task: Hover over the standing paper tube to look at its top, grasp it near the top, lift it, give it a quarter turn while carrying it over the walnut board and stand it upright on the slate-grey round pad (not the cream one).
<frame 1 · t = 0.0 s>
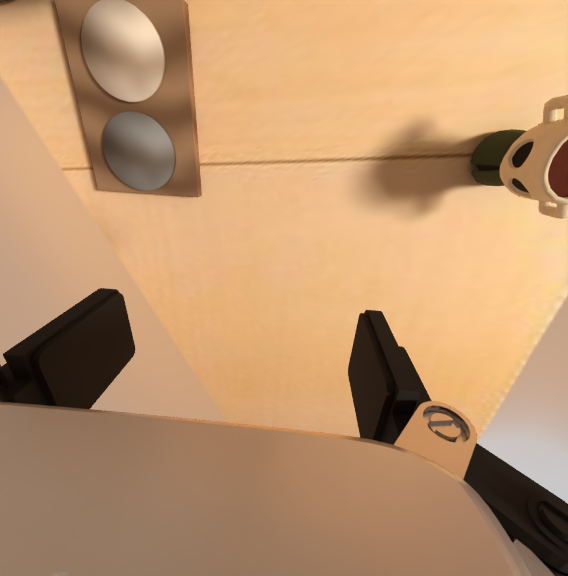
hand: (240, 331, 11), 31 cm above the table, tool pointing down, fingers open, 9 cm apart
character mug: (494, 158, 35), on the table
board: (140, 109, 35), on the table
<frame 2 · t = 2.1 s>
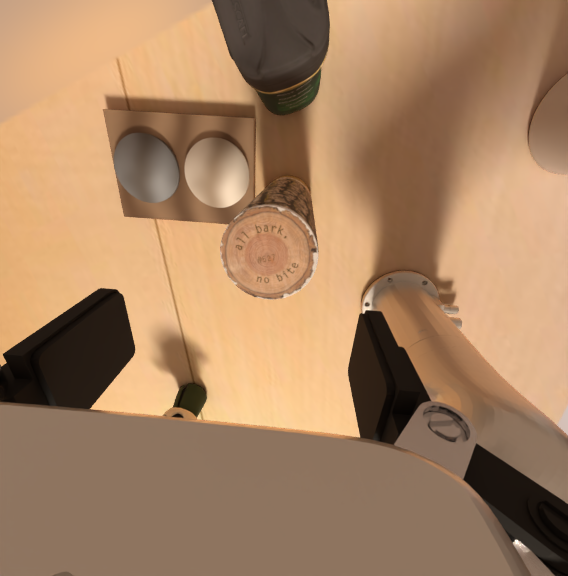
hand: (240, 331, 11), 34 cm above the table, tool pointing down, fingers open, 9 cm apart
character mug: (194, 391, 61), on the table
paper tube: (288, 199, 42), on the table
board: (187, 170, 41), on the table
coffee jar: (285, 69, 35), on the table
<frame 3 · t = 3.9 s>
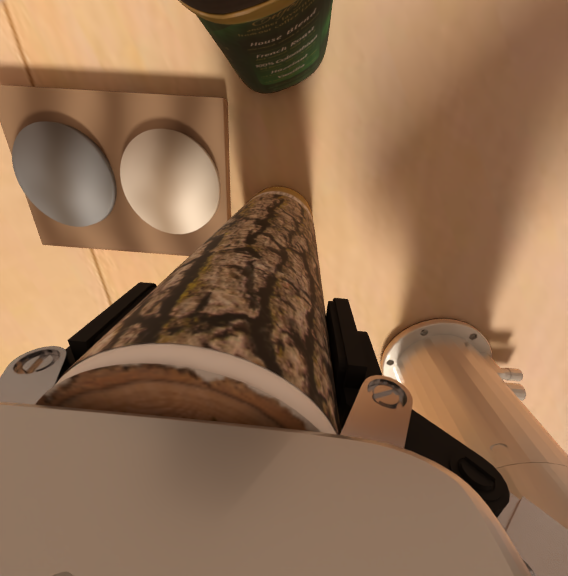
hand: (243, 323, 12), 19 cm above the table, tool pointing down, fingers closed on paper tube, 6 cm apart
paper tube: (279, 220, 28), on the table, touching gripper
board: (129, 179, 27), on the table
coffee jar: (272, 18, 22), on the table
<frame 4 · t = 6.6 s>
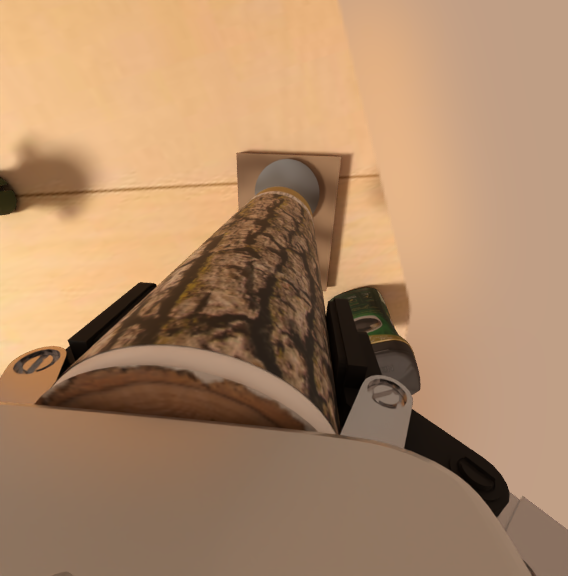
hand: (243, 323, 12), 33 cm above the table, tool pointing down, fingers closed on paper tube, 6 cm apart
character mug: (0, 193, 44), on the table
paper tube: (279, 220, 28), point 14 cm above the table, touching gripper
board: (286, 226, 43), on the table
coffee jar: (355, 307, 49), on the table
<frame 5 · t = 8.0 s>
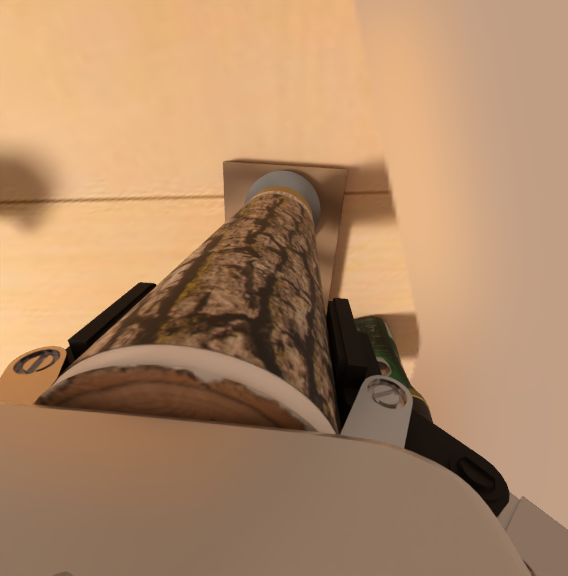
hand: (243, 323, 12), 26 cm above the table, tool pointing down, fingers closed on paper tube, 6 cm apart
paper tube: (279, 220, 28), point 7 cm above the table, touching gripper
board: (281, 247, 37), on the table
coffee jar: (358, 337, 43), on the table
when the fingers open (22 cm above the table, at t = 9.2 s): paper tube drops 1 cm, resting on board.
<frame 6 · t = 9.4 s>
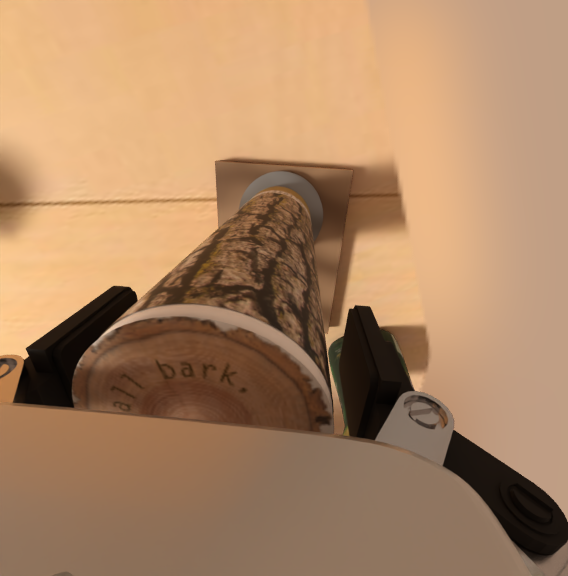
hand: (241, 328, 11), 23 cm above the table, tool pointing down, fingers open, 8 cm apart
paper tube: (278, 218, 30), point 2 cm above the table, touching board
board: (279, 254, 34), on the table
coffee jar: (362, 350, 40), on the table
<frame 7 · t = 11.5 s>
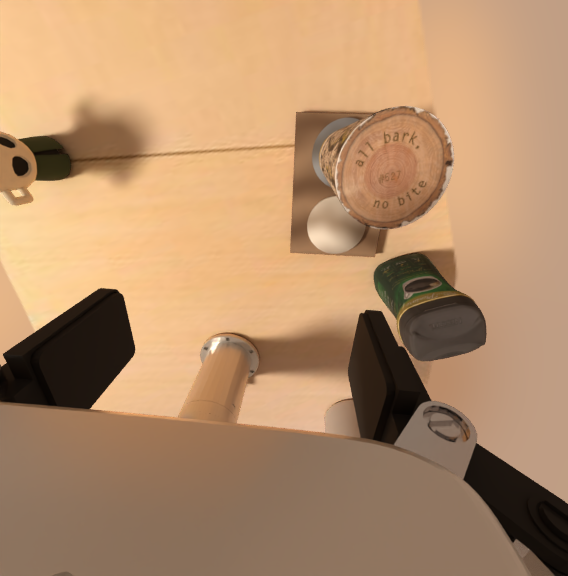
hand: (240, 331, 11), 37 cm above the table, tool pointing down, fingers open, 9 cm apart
character mug: (54, 158, 44), on the table
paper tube: (342, 156, 39), point 2 cm above the table, touching board
cylinder vase: (350, 415, 66), on the table
board: (338, 190, 43), on the table
coffee jar: (401, 274, 49), on the table
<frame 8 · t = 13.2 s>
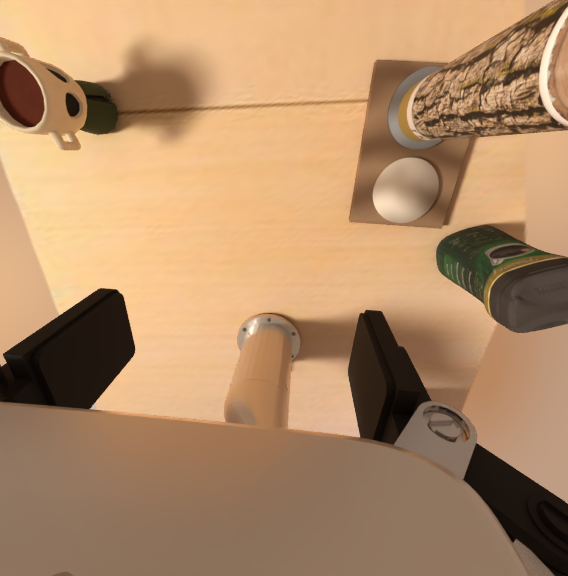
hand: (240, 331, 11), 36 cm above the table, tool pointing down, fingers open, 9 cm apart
character mug: (98, 110, 40), on the table
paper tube: (422, 111, 36), point 2 cm above the table, touching board
board: (409, 153, 40), on the table
coffee jar: (464, 250, 46), on the table
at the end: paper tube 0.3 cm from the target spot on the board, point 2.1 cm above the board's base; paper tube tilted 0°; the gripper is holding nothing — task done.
